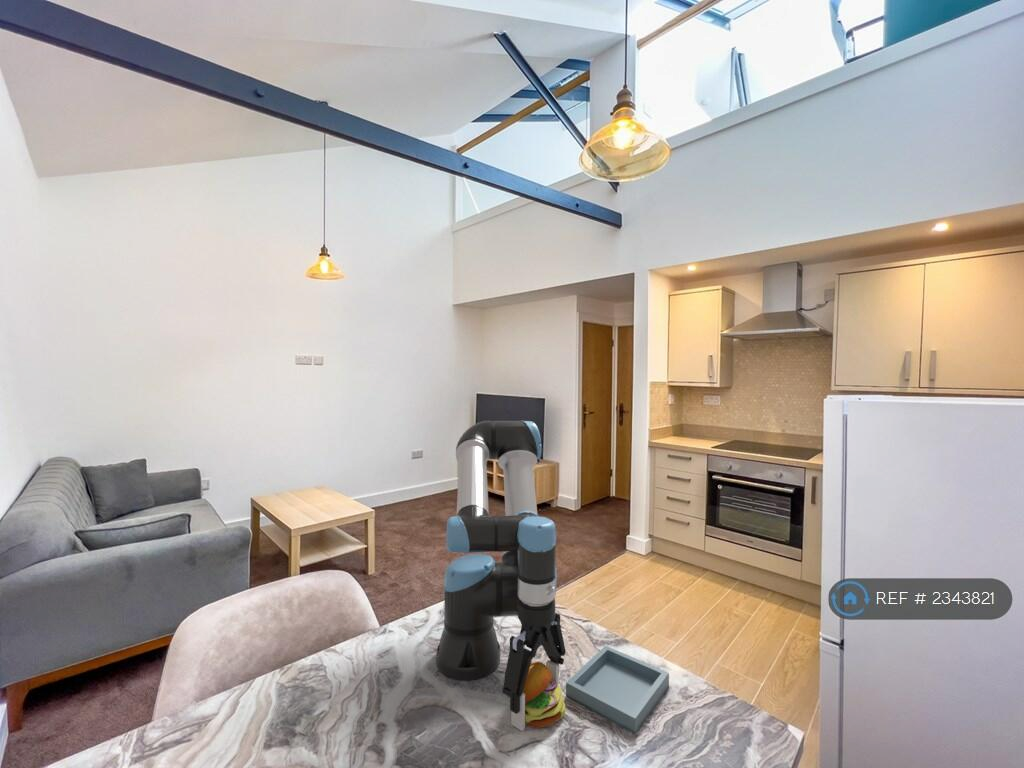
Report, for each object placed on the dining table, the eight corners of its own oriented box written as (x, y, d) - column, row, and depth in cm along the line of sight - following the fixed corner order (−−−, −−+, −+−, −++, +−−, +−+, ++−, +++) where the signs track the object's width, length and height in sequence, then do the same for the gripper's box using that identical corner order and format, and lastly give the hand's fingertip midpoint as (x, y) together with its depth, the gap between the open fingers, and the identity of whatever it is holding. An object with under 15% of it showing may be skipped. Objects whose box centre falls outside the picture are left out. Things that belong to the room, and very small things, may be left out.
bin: (566, 697, 91) (566, 682, 91) (605, 658, 104) (605, 645, 104) (635, 734, 81) (635, 718, 81) (668, 686, 94) (668, 672, 94)
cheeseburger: (564, 737, 80) (552, 682, 81) (509, 741, 82) (497, 688, 83) (568, 697, 90) (557, 649, 90) (519, 702, 92) (508, 655, 93)
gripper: (514, 629, 76) (513, 757, 75) (582, 583, 93) (582, 687, 93) (482, 614, 80) (481, 735, 80) (553, 574, 98) (553, 672, 98)
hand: (535, 709), depth 87 cm, fingers closed on cheeseburger, 10 cm apart
